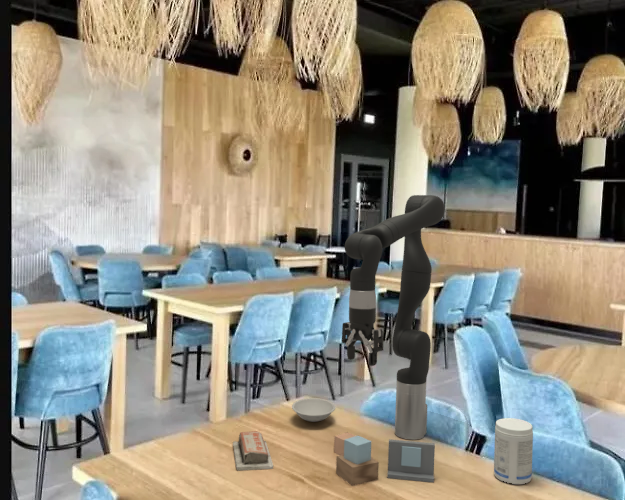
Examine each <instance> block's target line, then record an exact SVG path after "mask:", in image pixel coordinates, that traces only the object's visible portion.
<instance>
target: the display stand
mask: <svg viewBox="0 0 625 500" xmlns="http://www.w3.org/2000/svg"><path fill="white" fill-rule="evenodd" d="M435 449H436V443H435V442H426V441H425V442H424V441H413V440H401V439H391V438H389V439H388V449H387V450H388V452H387V474H386V475H387V476H386V478H387V479H393V480H405V481H414V482H424V483H434V482H435V474H434V473H435V455H436V454H435V452H436V451H435Z"/></svg>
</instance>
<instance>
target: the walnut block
mask: <svg viewBox="0 0 625 500" xmlns="http://www.w3.org/2000/svg"><path fill="white" fill-rule="evenodd" d="M335 462H336V465H335V466H336V469H335V474H336V475H337V476H338V477H340V478H341V479H342V480H344V481H345V482H347V484H348V485H350V486H351V487H353V486H356V485H362V484H366V483H372V482H374V481H375V482H376V481H378V480H379V468H380V467H379V465H380V464H379V461H378V460H376V459H374V457H372V456H371V460H369V461H366V462H363V463H360V464H358V465H357V464H355V463H353V462H351V461H349V460H347V459H344V455H338V454H337V455H336V461H335Z"/></svg>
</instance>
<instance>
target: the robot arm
mask: <svg viewBox="0 0 625 500" xmlns="http://www.w3.org/2000/svg"><path fill="white" fill-rule="evenodd" d="M406 200H407V201H406V204H405V207H404V208H405V209H404V213H403V214H399V215H395V216H391V217H389V218H386V219H383V221H381V222H379V223H378V224H376V225H374V226H372V227H369V228H365V229H362V230H359V231H356V232H354V233H352V234H350V235H349V236H348V237H347V238H346V241H345V243H344V252H345V254H346V255H347V256H348V257H349V258H351V259H354V260H361V261H362V263H361V265H360V267H354V268H353V269H351V271H350V276H349V278H350V281H349V283H350V285H349V288H350V289H349V295H348V296H349V297H348V322H343V323H342V328H341V343H343V344H345V346H346V357H347V359H348V360H354V359H356V358H355V357H356V346H355V345H356V343H357V342H361V343H363V344H364V346H366V347H367V350H368V365H369V366H370V367H373V366H376V365H377V363H378V352H382V351H384V333H383V332H384V331H383V329H381V328H380V329H376V328H375V323H376V319H377V317H376V316H377V294H376V275H377V271H378V268H379V265H380V260H381V257H382V254H383V249H385V248H388V247H390V246H391V245H393V244H395V243H396V242H398V241H399V240H400V239H404V242H403V243H404V244H403V255H402V265H401V275H400V284H399V285H400V291H399V297H398V298H399V299H398V305H397V312H396V313H397V314H396V319H395V323H394V329H393V334H392V341H391V342H392V343H391V344H392V345H391V346H392V351H393V353H394V355H396V356H397V357H399V358H404V359H408V360H410V362H409V367H403V368H401V369H398V370H397V372H396V388H395V389H396V390H395V391H396V392H395V414H394V415H395V418H394V419H395V420H394V435H395V436H396V437H399V438H401V439H405V440H410V441H413V440H420V439H423V438H424V437H425V435H427V432H428V431H427V427H428V425H427V423H428V404H427V403H426V401H427V400H426V398H427V377H428V374H429V370H430V360H431V352H432V351H431V348H432V342H431V337H430V335H429V334H428V332H426V331H422V330H419V329H418V330H417V329H412V328H413V320H414V317H415V313H416V311H417V309H418V308H419V306H420V305H421V304H422V302H423V301H424V300H425V298H426V297H427V295H428V293H429V292H430V290H431V289H430V288H431V283H432V281H431V280H432V271H433V269H432V265H431V261H430V258H429V256H428V254H427V252H426V250H425V246H424V244H423V240H422V229H425V228H427V227H431V226H434V225H436V224H438V223H439V222H441V221H442V219H443V218H444V215H445V209H446V207H445V203H444V200H443V199H442V198H441V197H440V196H437V195H433V194H432V195H431V194H428V195H427V194H425V195H424V194H416V195H415V194H413V195H411V196H409V198H408V199H406Z"/></svg>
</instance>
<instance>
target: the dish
mask: <svg viewBox="0 0 625 500" xmlns="http://www.w3.org/2000/svg"><path fill="white" fill-rule="evenodd" d="M291 409H292V411H294V412H295V413H296V415H297V416H299V417H300V418H301V419H302V420H304V421H307V422H313V423H314V422H315V423H316V422H320V421H324V420H325V419H327V418H328V417H330V415H331V414H332V413H334V411H335V410H336V405H335V403H334V402H333V401H331V400H328V399H324V398H319V397H309V398H307V397H306V398H302V399H298V400H296V401H294V402H293V404H291Z"/></svg>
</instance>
